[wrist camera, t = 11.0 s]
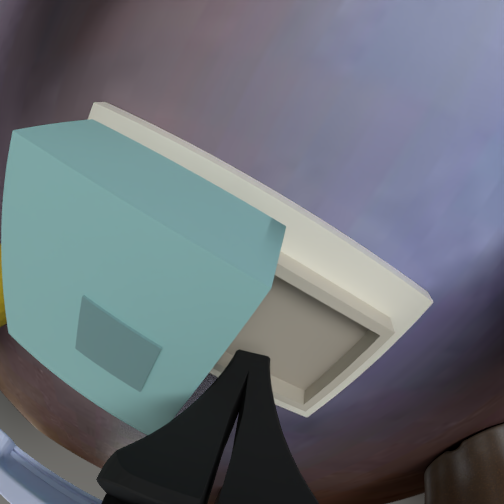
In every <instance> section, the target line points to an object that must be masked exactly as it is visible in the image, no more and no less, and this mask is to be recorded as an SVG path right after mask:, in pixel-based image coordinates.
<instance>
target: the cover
mask: <svg viewBox="0 0 504 504" xmlns="http://www.w3.org/2000/svg"><path fill="white" fill-rule="evenodd" d="M285 229H286V226H285V225H283V224H282V223H280V222H278V221H277V220H275V219H273V218H272V217H270V216H268V215H266V214H265V213H263V212H261V211H260V210H258V209H256V208H255V207H253V206H251V205H249V204H248V203H246V202H244V201H243V200H241V199H239V198H237V197H236V196H234V195H232V194H230V193H229V192H227V191H225V190H224V189H222V188H220V187H218V186H216V185H215V184H213V183H211V182H209V181H208V180H206V179H204V178H202V177H201V176H199V175H197V174H195V173H193V172H192V171H190V170H188V169H186V168H184V167H182V166H181V165H179V164H177V163H175V162H173V161H172V160H170V159H168V158H166V157H164V156H162V155H160V154H159V153H157V152H155V151H153V150H151V149H149V148H147V147H145V146H144V145H142V144H140V143H138V142H136V141H134V140H132V139H130V138H128V137H126V136H125V135H123V134H121V133H119V132H117V131H115V130H113V129H111V128H109V127H107V126H105V125H103V124H101V123H99V122H97V121H95V120H93V119H90V120H80V121H70V122H62V123H54V124H47V125H41V126H34V127H29V128H23V129H17V130H13V132H12V137H11V142H10V148H9V154H8V160H7V167H6V174H5V183H4V193H3V205H2V226H1V260H2V280H3V293H4V303H5V312H6V319H7V326H8V332H9V334H10V335H11V336H12V337H13V338H14V339H15V340H16V341H17V342H18V343H19V344H20V345H22V346H23V347H24V348H25V349H26V350H27V351H28V352H29V353H30V354H31V355H33V356H34V357H35V358H36V359H37V360H38V361H40V362H41V363H42V364H43V365H44V366H45V367H47V368H48V369H49V370H50V371H52V372H53V373H54V374H55V375H57V376H58V377H59V378H60V379H62V380H63V381H64V382H66V383H67V384H68V385H70V386H71V387H72V388H74V389H75V390H76V391H78V392H79V393H80V394H82V395H83V396H85V397H86V398H88V399H89V400H90V401H92V402H93V403H95V404H96V405H98V406H99V407H101V408H102V409H104V410H105V411H107V412H109V413H110V414H112V415H113V416H115V417H117V418H118V419H120V420H121V421H123V422H125V423H127V424H128V425H130V426H132V427H133V428H135V429H137V430H139V431H140V432H142V433H144V434H146V435H149V434H151V433H153V432H154V431H156V430H158V429H160V428H161V427H163V426H164V425H166V424H167V423H169V422H170V421H171V420H172V419H173V418H174V417H175V416H176V414H177V413H178V412H179V411H180V409H181V408H182V407H183V405H184V404H185V403H186V402H187V400H188V399H189V398H190V397H191V395H192V394H193V393H194V391H195V390H196V389H197V388H198V386H199V385H200V384H201V382H202V381H203V380H204V379H205V377H206V376H207V375H208V373H209V372H210V371H211V369H212V368H213V367H214V365H215V364H216V363H217V361H218V360H219V359H220V358H221V356H222V355H223V354H224V352H225V351H226V350H227V348H228V347H229V346H230V344H231V343H232V342H233V340H234V339H235V337H236V336H237V335H238V333H239V332H240V331H241V329H242V328H243V327H244V325H245V324H246V323H247V321H248V320H249V319H250V317H251V316H252V314H253V313H254V312H255V310H256V309H257V308H258V306H259V305H260V303H261V302H262V301H263V299H264V298H265V296H266V295H267V294H268V292H269V291H270V289H271V287H272V283H273V279H274V275H275V271H276V267H277V263H278V259H279V255H280V251H281V246H282V242H283V238H284V234H285Z"/></svg>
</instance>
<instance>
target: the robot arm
mask: <svg viewBox="0 0 504 504" xmlns="http://www.w3.org/2000/svg"><path fill="white" fill-rule="evenodd" d="M238 413H239V416H238V422H237V428H236V433H235V439H234V445H233V451H232V455H231V460H230V463H229V467H228V470H227V474H226V477H225V481H224V484H223V488H222V491H221V494H220V498H219V501H218V504H319V503H318V501H317V499H316V498H315V496H314V495H313V493H312V492H311V490H310V489H309V487H308V485H307V484H306V482H305V480H304V479H303V477H302V475H301V473H300V471H299V469H298V467H297V465H296V463H295V461H294V459H293V457H292V455H291V453H290V450H289V448H288V445H287V443H286V440H285V437H284V435H283V432H282V429H281V426H280V422H279V419H278V415H277V411H276V407H275V402H274V397H273V391H272V385H271V376H270V358H269V356H265V355H261V354H256V353H252V352H248V351H244V350H240V349H239V350H237V351H236V352H235V354H234V356H233V358H232V359H231V361H230V363H229V364H228V365H227V367H226V368H225V369H224V371H223V372H222V373H221V374H220V376H219V377H218V378H217V379H216V380H215V382H214V383H213V384H212V385H211V386H210V387H209V388H208V389H207V390H206V391H205V392H204V393H203V394H202V395H201V396H200V397H199V398H198V399H197V400H196V401H195V402H194V403H193V404H192V405H191V406H189V407H188V408H187V409H186V410H185V411H183V412H182V413H181V414H180V415H178V416H177V417H176V418H174V419H173V420H171V421H170V422H169V423H167V424H166V425H164V426H163V427H161V428H160V429H158V430H156V431H154V432H153V433H151V434H149V435H148V436H146V437H144V438H142V439H140V440H138V441H136V442H134V443H132V444H130V445H128V446H125V447H123V448H121V449H119V450H117V451H116V452H115V453H114V454H113V455H112V456H111V457H110V458H109V459H108V460H107V462H106V463H105V464H104V466H103V468H102V470H101V472H100V473H99V475H98V477H97V482H98V483H99V485H100V486H101V487H102V488H103V490H104V491H105V492H106V493H107V494H106V495H105V497H104V499H103V501H102V500H100V499H98V498H96V497H94V496H92V495H90V494H88V493H86V492H85V491H83V490H81V489H79V488H78V487H76V486H74V485H73V484H71V483H69V482H68V481H66V480H64V479H63V478H61V477H60V476H58V475H57V474H55V473H53V472H52V471H50V470H49V469H47V468H46V467H44V466H43V465H42V464H40V463H39V462H37V461H36V460H35V459H33V458H32V457H30V456H29V455H28V454H27V453H25V452H24V451H23V450H21V449H20V448H19V447H17V446H16V445H15V443H14V442H13V441H12V439H11V438H10V437H9V436H8V435H7V434H6V433H4V432H3V431H2V430H1V429H0V494H1V495H2V496H3V497H4V498H5V499H6V500H7V501H8V502H10V503H11V504H207V503H208V499H209V496H210V493H211V490H212V486H213V483H214V480H215V476H216V473H217V470H218V466H219V463H220V460H221V456H222V453H223V451H224V448H225V445H226V443H227V440H228V438H229V435H230V433H231V431H232V428H233V426H234V423H235V420H236V418H237V415H238Z"/></svg>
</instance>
